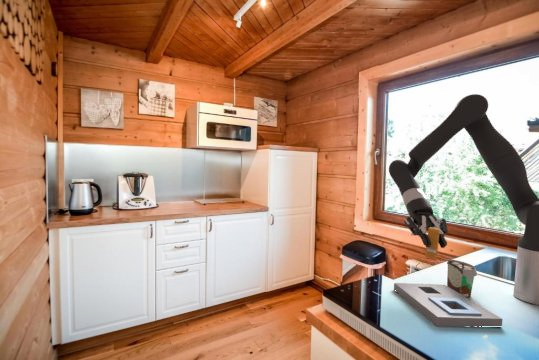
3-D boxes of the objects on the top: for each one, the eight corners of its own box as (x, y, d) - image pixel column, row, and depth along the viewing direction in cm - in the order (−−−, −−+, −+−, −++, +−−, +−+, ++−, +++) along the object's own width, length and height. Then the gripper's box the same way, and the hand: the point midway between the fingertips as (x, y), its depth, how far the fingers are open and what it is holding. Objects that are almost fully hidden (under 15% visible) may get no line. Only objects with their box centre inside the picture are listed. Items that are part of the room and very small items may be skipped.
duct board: (444, 291, 95) (444, 283, 95) (501, 328, 73) (502, 317, 73) (393, 290, 94) (394, 281, 94) (436, 326, 72) (437, 315, 72)
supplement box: (437, 261, 87) (439, 229, 87) (425, 258, 89) (427, 228, 88) (437, 258, 90) (439, 228, 89) (425, 256, 92) (427, 226, 91)
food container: (483, 303, 88) (485, 272, 87) (461, 300, 89) (464, 269, 89) (463, 287, 100) (466, 260, 100) (445, 285, 101) (447, 258, 101)
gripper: (402, 196, 96) (420, 239, 84) (441, 198, 97) (465, 241, 85) (393, 209, 101) (409, 251, 89) (430, 210, 102) (451, 253, 90)
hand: (436, 246), depth 87 cm, fingers closed on supplement box, 4 cm apart
